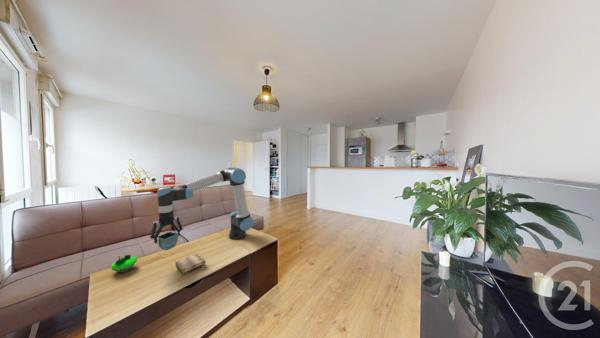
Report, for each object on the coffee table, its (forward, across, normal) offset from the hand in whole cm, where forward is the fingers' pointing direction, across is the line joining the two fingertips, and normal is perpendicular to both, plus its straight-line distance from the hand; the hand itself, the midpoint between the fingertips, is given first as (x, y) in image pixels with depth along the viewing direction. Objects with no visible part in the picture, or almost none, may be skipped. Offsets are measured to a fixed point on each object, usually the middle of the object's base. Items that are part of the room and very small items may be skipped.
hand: (167, 244), depth 119 cm
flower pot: (+3, 0, 0) cm, 3 cm away
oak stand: (+15, -8, +12) cm, 21 cm away
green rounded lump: (+15, +19, -17) cm, 29 cm away
